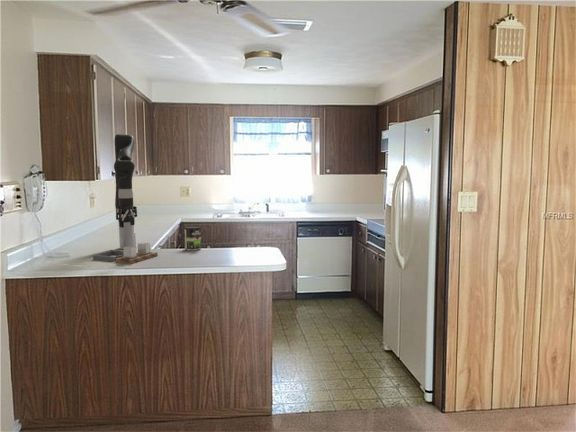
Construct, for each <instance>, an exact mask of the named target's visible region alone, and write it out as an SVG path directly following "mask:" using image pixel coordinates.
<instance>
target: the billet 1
mask: <svg viewBox="0 0 576 432" xmlns="http://www.w3.org/2000/svg"><path fill="white" fill-rule="evenodd" d="M122 251H123V255H124V258H126V259H134V258H137V255H136V253H137V245H136V246H126V247H123V249H122Z"/></svg>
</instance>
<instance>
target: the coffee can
mask: <svg viewBox="0 0 576 432" xmlns="http://www.w3.org/2000/svg"><path fill="white" fill-rule="evenodd" d="M201 229H202V226H199V225H188V226H184V250H185V249H187V250H186V251H199V250H198V249H200V250H202V232H201Z"/></svg>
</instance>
